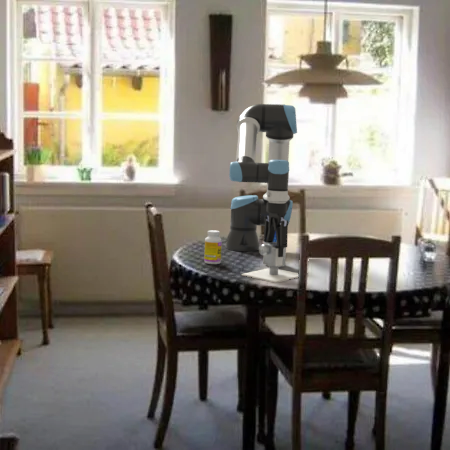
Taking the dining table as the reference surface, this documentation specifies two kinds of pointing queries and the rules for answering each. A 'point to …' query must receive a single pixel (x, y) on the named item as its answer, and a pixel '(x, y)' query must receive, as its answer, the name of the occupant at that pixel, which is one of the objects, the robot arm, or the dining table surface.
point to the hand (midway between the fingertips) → (274, 263)
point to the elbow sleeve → (270, 253)
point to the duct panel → (270, 277)
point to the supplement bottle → (213, 248)
